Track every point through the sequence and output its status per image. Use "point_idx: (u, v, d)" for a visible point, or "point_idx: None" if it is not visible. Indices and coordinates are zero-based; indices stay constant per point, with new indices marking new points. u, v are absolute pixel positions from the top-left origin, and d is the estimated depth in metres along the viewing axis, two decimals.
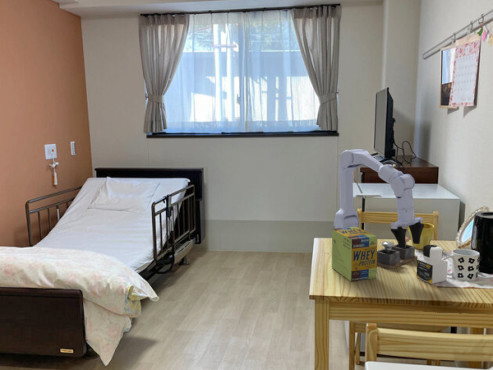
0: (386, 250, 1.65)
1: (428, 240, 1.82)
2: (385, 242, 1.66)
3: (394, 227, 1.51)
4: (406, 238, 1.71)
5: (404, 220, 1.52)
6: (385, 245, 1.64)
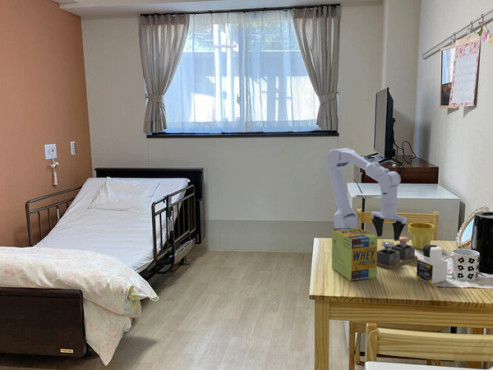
0: (386, 250, 1.65)
1: (428, 240, 1.82)
2: (385, 242, 1.66)
3: None
4: (406, 238, 1.71)
5: (381, 213, 1.65)
6: (385, 245, 1.64)
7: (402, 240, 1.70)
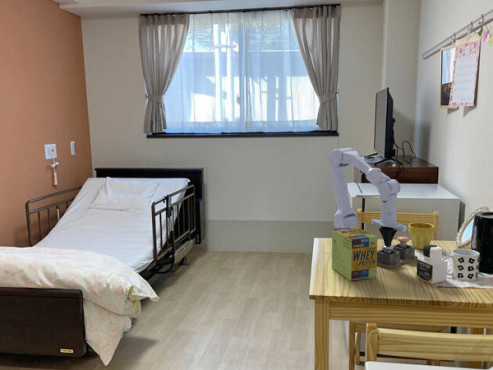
0: (386, 253, 1.65)
1: (428, 240, 1.82)
2: None
3: None
4: (406, 238, 1.71)
5: (380, 221, 1.66)
6: (385, 248, 1.64)
7: (402, 240, 1.70)
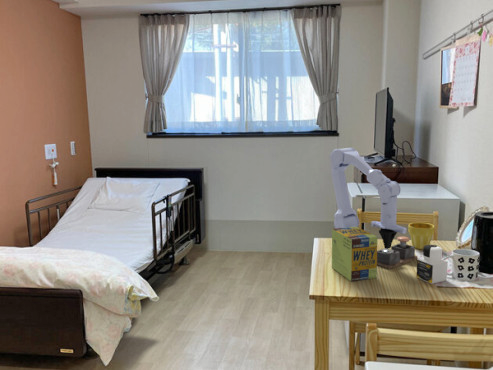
0: None
1: (428, 240, 1.82)
2: (385, 250, 1.67)
3: None
4: (406, 238, 1.71)
5: (380, 223, 1.66)
6: (385, 253, 1.65)
7: (402, 240, 1.70)
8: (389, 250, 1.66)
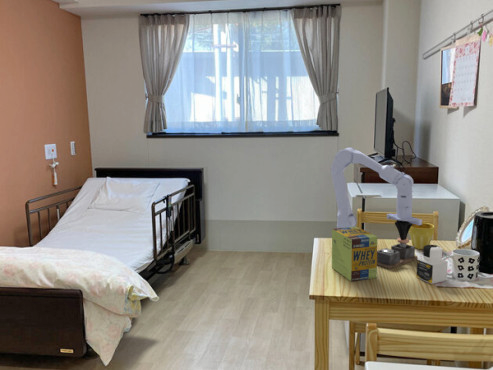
0: None
1: (428, 240, 1.82)
2: (385, 250, 1.67)
3: None
4: (406, 239, 1.71)
5: None
6: (385, 253, 1.65)
7: (402, 241, 1.70)
8: (389, 250, 1.66)
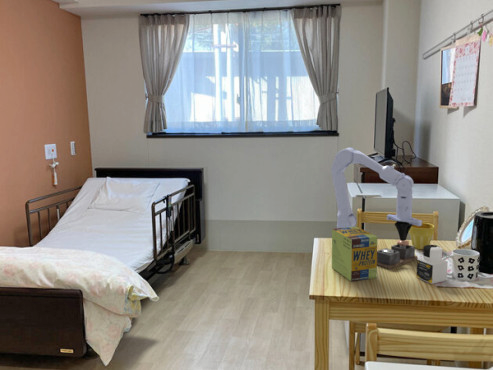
0: None
1: (428, 240, 1.82)
2: (385, 250, 1.67)
3: None
4: (406, 241, 1.71)
5: (396, 216, 1.71)
6: (385, 253, 1.65)
7: (402, 243, 1.70)
8: (389, 250, 1.66)
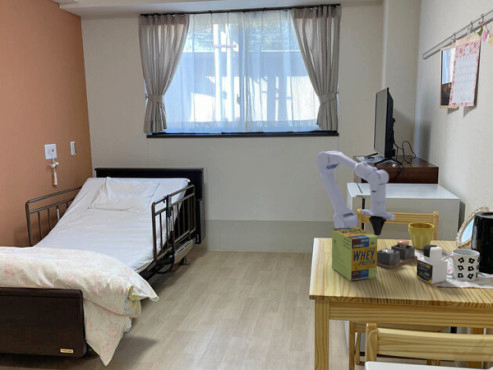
0: None
1: (428, 240, 1.82)
2: (385, 250, 1.67)
3: None
4: (406, 241, 1.71)
5: None
6: (385, 253, 1.65)
7: (402, 243, 1.70)
8: (389, 250, 1.66)
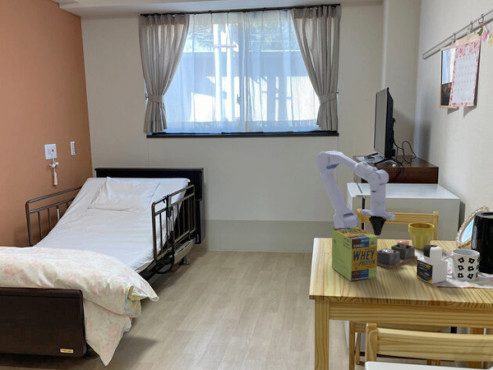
0: None
1: (428, 240, 1.82)
2: (385, 250, 1.67)
3: None
4: (406, 241, 1.71)
5: None
6: (385, 253, 1.65)
7: (402, 243, 1.70)
8: (389, 250, 1.66)
